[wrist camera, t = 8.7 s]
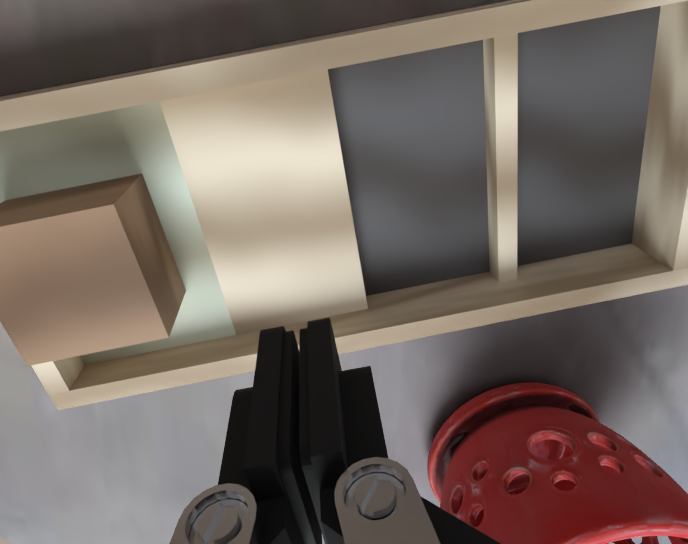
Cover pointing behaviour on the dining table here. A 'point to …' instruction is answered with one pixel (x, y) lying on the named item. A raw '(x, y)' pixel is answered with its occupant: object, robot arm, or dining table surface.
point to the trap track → (382, 178)
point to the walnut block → (86, 271)
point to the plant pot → (550, 473)
